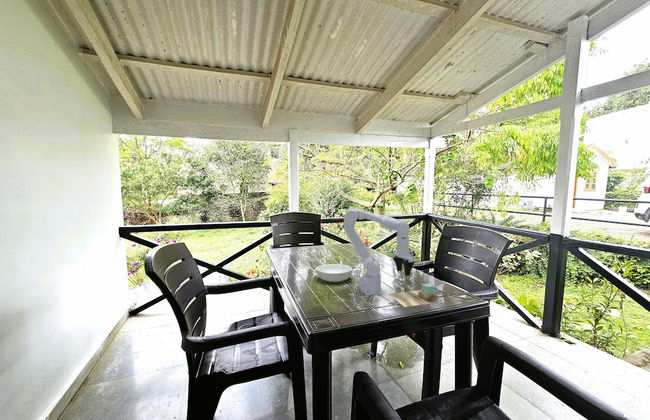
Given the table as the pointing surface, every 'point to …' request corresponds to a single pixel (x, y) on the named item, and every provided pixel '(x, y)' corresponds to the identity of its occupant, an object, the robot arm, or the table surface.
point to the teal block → (427, 289)
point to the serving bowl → (334, 272)
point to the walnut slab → (428, 297)
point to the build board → (410, 298)
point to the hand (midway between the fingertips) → (403, 273)
